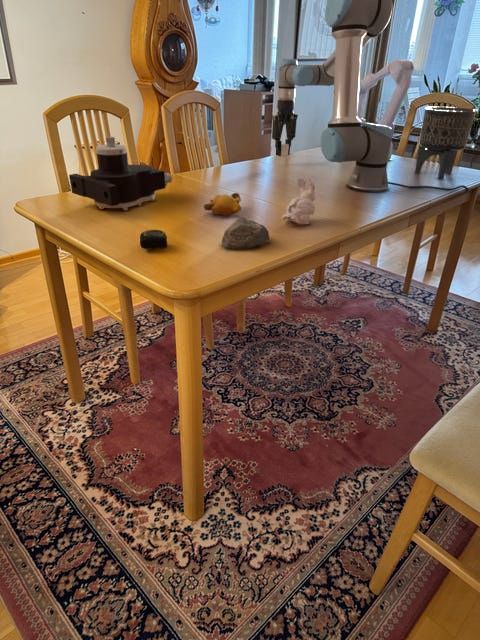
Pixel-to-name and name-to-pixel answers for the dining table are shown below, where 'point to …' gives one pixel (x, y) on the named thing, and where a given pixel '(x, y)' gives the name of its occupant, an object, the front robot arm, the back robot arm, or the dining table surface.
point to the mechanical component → (118, 179)
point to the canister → (284, 149)
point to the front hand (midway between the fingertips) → (282, 154)
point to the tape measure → (153, 239)
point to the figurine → (301, 204)
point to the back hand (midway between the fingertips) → (352, 136)
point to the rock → (245, 234)
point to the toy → (224, 204)
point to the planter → (444, 136)
